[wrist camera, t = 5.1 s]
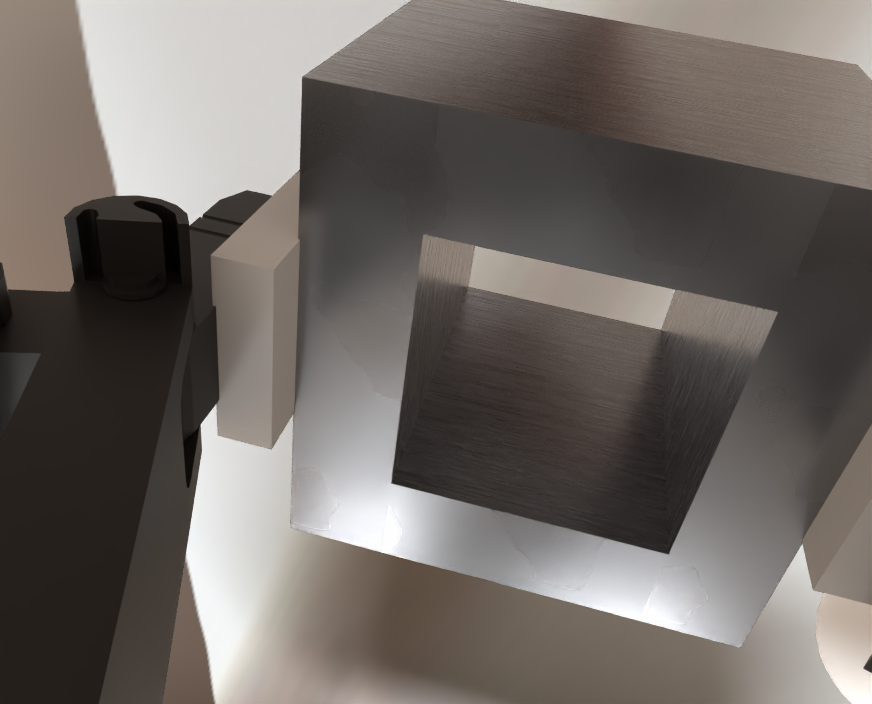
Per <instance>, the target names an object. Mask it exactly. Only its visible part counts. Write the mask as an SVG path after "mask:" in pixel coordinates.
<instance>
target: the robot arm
mask: <svg viewBox="0 0 872 704" xmlns="http://www.w3.org/2000/svg"><path fill="white" fill-rule="evenodd" d="M299 186H300V170H299V171H298V172H297V173H296V174H295V175H294V176H293V177H292V178H291V179H290V180H289V181H288V182H286V183H285V184H284V185H283V186H282V187H281V188H280V189H279V190H278V191H277V192H276V193H275V194H274V195H273V196H270V195H266V194H261V193H257V192H252V191H248V190H246V191H244V192H241V193H238V194H235V195H233V196H230V197H227V198H224V199H221V200H219V201H218V202H217V203H216V204H215V205H213V206H212V207H211V208H210V209H209V210H208V211H206V212H205V213H204V214H203V217H202V218H201V217H199V218H198V219H197V220H196V221H195V222H193V223H192V224H191V225H190V226H189V221H188V216H187V213H185V212H184V211H183V210H182V209H181V208H179V207H178V206H177V205H175V204H172V203H169V202H167V201H164V200H161V199H157V198H150V197H144V196H112V197H106V198H101V199H96V200H91V201H89V202H86V203H84V204H82V205H79V206H77V207H74V208H73V209H72V210H71V211H70V212H69V213H68V214H67V215H66V216H65V217H64V219H65V226H66V232H67V238H68V244H69V251H70V257H71V263H72V270H73V276H74V284H73V286H72V288H71V290H70V292H51V291H30V290H8V288H7V284H6V279H5V275H4V270H3V265H2V263H1V262H0V704H162V703H163V696H164V690H165V684H166V677H167V670H168V664H169V658H170V651H171V644H172V638H173V632H174V626H175V619H176V613H177V607H178V600H179V594H180V587H181V581H182V574H183V568H184V562H185V555H186V549H187V542H188V536H189V530H190V523H191V517H192V510H193V504H194V497H195V491H196V485H197V478H198V472H199V465H200V459H201V453H202V443H201V426H200V424H201V423H202V422H203V420H204V419H205V418H206V416H207V415H208V414H209V412H210V411H211V410H212V409H213V407H214V406H215V405H216V403H217V427H218V436H222V437H226V438H229V439H233V440H237V441H241V442H245V443H249V444H253V445H257V446H260V447H264V448H268V449H272V448H273V446H274V444H275V443H276V441H277V439H278V438H279V436H280V435H281V433H282V431H283V430H284V428H285V426H286V425H287V423H288V421H289V420H290V418H291V417H292V415H293V413H294V404H295V374H296V343H297V313H298V283H299V252H300V239H298V223H299ZM802 543H803V548H804V552H805V557H806V561H807V566H808V570H809V575H810V579H811V583H812V588H813V590H815V591H819V592H823V593H827V594H830V595H834V596H838V597H842V598H846V599H850V600H853V601H857V602H861V603H865V604H869V605H872V424H871V426H870V428H869V429H868V431H867V433H866V434H865V436H864V438H863V439H862V441H861V443H860V444H859V446H858V448H857V449H856V451H855V453H854V454H853V456H852V458H851V459H850V461H849V463H848V464H847V466H846V468H845V469H844V471H843V473H842V474H841V476H840V478H839V479H838V481H837V483H836V484H835V486H834V488H833V489H832V491H831V493H830V494H829V496H828V498H827V499H826V501H825V503H824V504H823V506H822V508H821V509H820V511H819V513H818V514H817V516H816V518H815V519H814V521H813V523H812V524H811V526H810V528H809V529H808V531H807V533H806V534H805V536H804V538H803V539H802ZM863 669H865V670H867V671H869V672H870V673H872V654H871V656H870V657H869V659H868V660H867V662H866V664H865V666H864V667H863Z"/></svg>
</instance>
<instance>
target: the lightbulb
mask: <svg viewBox="0 0 872 704" xmlns="http://www.w3.org/2000/svg"><path fill="white" fill-rule="evenodd" d="M816 639H817V643H818V648H819V652H820V656H821V659H822V661H823V664H824V666H825V668H826V670H827V672H828V674H829V675H830V677H831V679H832V680H833V682H834V683H835V685H836V686H837V688H838V689H839V690H840V692H841V693H842V694H843V695H844V696H845V697H846V698H847V699H848V700H849V701H850V702H851V703H852V704H872V673H870V672H869V671H867V670H865V669H863V667H864V666H865V664H866V662H867V660H868V659H869V657H870V656H871V654H872V605H869V604H865V603H861V602H857V601H853V600H850V599H846V598H842V597H838V596H834V595H830V594H827V593H824V596H823V598H822V601H821V603H820V605H819V608H818V613H817V625H816Z"/></svg>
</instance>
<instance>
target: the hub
mask: <svg viewBox="0 0 872 704" xmlns="http://www.w3.org/2000/svg"><path fill="white" fill-rule="evenodd" d="M298 239H300V252H299V283H298V313H297V343H296V374H295V404H294V413H293V451H292V489H291V527H290V528H292V529H296V530H300V531H304V532H307V533H311V534H315V535H319V536H322V537H326V538H330V539H334V540H337V541H341V542H345V543H349V544H352V545H356V546H360V547H364V548H367V549H371V550H375V551H379V552H382V553H386V554H390V555H394V556H397V557H401V558H405V559H409V560H412V561H416V562H420V563H424V564H428V565H431V566H435V567H439V568H443V569H446V570H450V571H454V572H458V573H461V574H465V575H469V576H473V577H476V578H480V579H484V580H488V581H491V582H495V583H499V584H503V585H506V586H510V587H514V588H518V589H521V590H525V591H529V592H533V593H536V594H540V595H544V596H548V597H551V598H555V599H559V600H563V601H566V602H570V603H574V604H578V605H581V606H585V607H589V608H593V609H596V610H600V611H604V612H608V613H611V614H615V615H619V616H623V617H626V618H630V619H634V620H638V621H641V622H645V623H649V624H653V625H656V626H660V627H664V628H668V629H671V630H675V631H679V632H683V633H686V634H690V635H694V636H698V637H701V638H705V639H709V640H713V641H716V642H720V643H724V644H728V645H731V646H735V647H739V648H740V647H741V646H742V644H743V642H744V641H745V639H746V637H747V636H748V634H749V632H750V631H751V629H752V627H753V626H754V624H755V622H756V621H757V619H758V617H759V615H760V614H761V612H762V610H763V609H764V607H765V605H766V604H767V602H768V600H769V599H770V597H771V595H772V594H773V592H774V590H775V589H776V587H777V585H778V583H779V582H780V580H781V578H782V577H783V575H784V573H785V572H786V570H787V568H788V567H789V565H790V563H791V562H792V560H793V558H794V557H795V555H796V553H797V551H798V550H799V548H800V546H801V545H802V539H803V538H804V536H805V534H806V533H807V531H808V529H809V528H810V526H811V524H812V523H813V521H814V519H815V518H816V516H817V514H818V513H819V511H820V509H821V508H822V506H823V504H824V503H825V501H826V499H827V498H828V496H829V494H830V493H831V491H832V489H833V488H834V486H835V484H836V483H837V481H838V479H839V478H840V476H841V474H842V473H843V471H844V469H845V468H846V466H847V464H848V463H849V461H850V459H851V458H852V456H853V454H854V453H855V451H856V449H857V448H858V446H859V444H860V443H861V441H862V439H863V438H864V436H865V434H866V433H867V431H868V429H869V428H870V426H871V424H872V80H871V79H870V78H869V77H868V76H867V75H866V74H865V73H864V72H863V70H862V69H861V68H860V67H859V66H858V65H856V64H850V63H845V62H839V61H834V60H828V59H823V58H817V57H812V56H806V55H801V54H795V53H790V52H784V51H779V50H773V49H768V48H762V47H757V46H751V45H746V44H740V43H735V42H729V41H724V40H718V39H713V38H707V37H702V36H696V35H691V34H685V33H680V32H674V31H669V30H663V29H658V28H652V27H647V26H641V25H636V24H630V23H625V22H619V21H614V20H608V19H603V18H597V17H592V16H586V15H581V14H575V13H570V12H564V11H559V10H553V9H548V8H542V7H537V6H531V5H526V4H520V3H515V2H509V1H504V0H411V1H410V2H408V3H407V4H406V5H404V6H403V7H401V8H400V9H398V10H397V11H396V12H394V13H393V14H391V15H390V16H388V17H387V18H386V19H384V20H383V21H381V22H380V23H378V24H377V25H376V26H374V27H373V28H371V29H370V30H368V31H367V32H366V33H364V34H363V35H361V36H360V37H359V38H357V39H356V40H354V41H353V42H351V43H350V44H349V45H347V46H346V47H344V48H343V49H341V50H340V51H339V52H337V53H336V54H334V55H333V56H331V57H330V58H329V59H327V60H326V61H324V62H323V63H321V64H320V65H319V66H317V67H316V68H314V69H313V70H311V71H310V72H309V73H307V74H306V75H304V76H303V77H302V110H301V148H300V186H299V223H298ZM475 246H478V247H483V248H487V249H492V250H497V251H501V252H506V253H510V254H515V255H520V256H524V257H529V258H533V259H538V260H542V261H547V262H552V263H556V264H561V265H565V266H570V267H574V268H579V269H584V270H588V271H593V272H597V273H602V274H607V275H611V276H616V277H620V278H625V279H629V280H634V281H639V282H643V283H648V284H652V285H657V286H661V287H666V288H671V289H675V293H674V295H673V298H672V301H671V304H670V307H669V310H668V312H667V315H666V318H665V321H664V324H663V327H662V329H661V330H658V329H654V328H649V327H645V326H641V325H636V324H632V323H627V322H623V321H618V320H614V319H609V318H605V317H600V316H596V315H592V314H587V313H583V312H578V311H574V310H569V309H565V308H560V307H556V306H551V305H547V304H543V303H538V302H534V301H529V300H525V299H520V298H516V297H511V296H507V295H502V294H498V293H494V292H489V291H485V290H480V289H476V288H471V287H468V285H469V279H470V273H471V267H472V262H473V256H474V250H475Z"/></svg>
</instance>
